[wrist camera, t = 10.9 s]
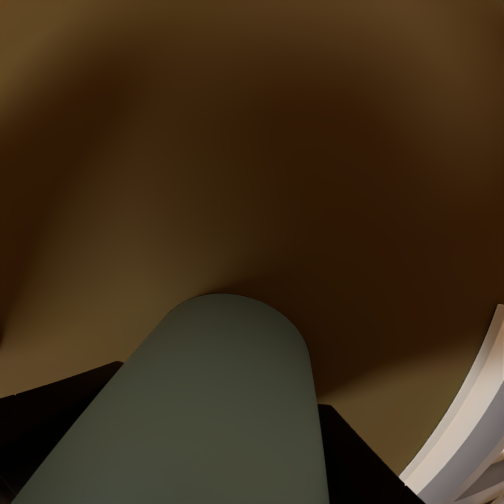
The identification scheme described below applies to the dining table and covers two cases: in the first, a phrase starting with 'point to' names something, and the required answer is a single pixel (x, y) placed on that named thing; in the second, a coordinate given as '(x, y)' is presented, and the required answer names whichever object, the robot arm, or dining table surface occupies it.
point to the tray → (468, 435)
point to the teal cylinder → (198, 418)
